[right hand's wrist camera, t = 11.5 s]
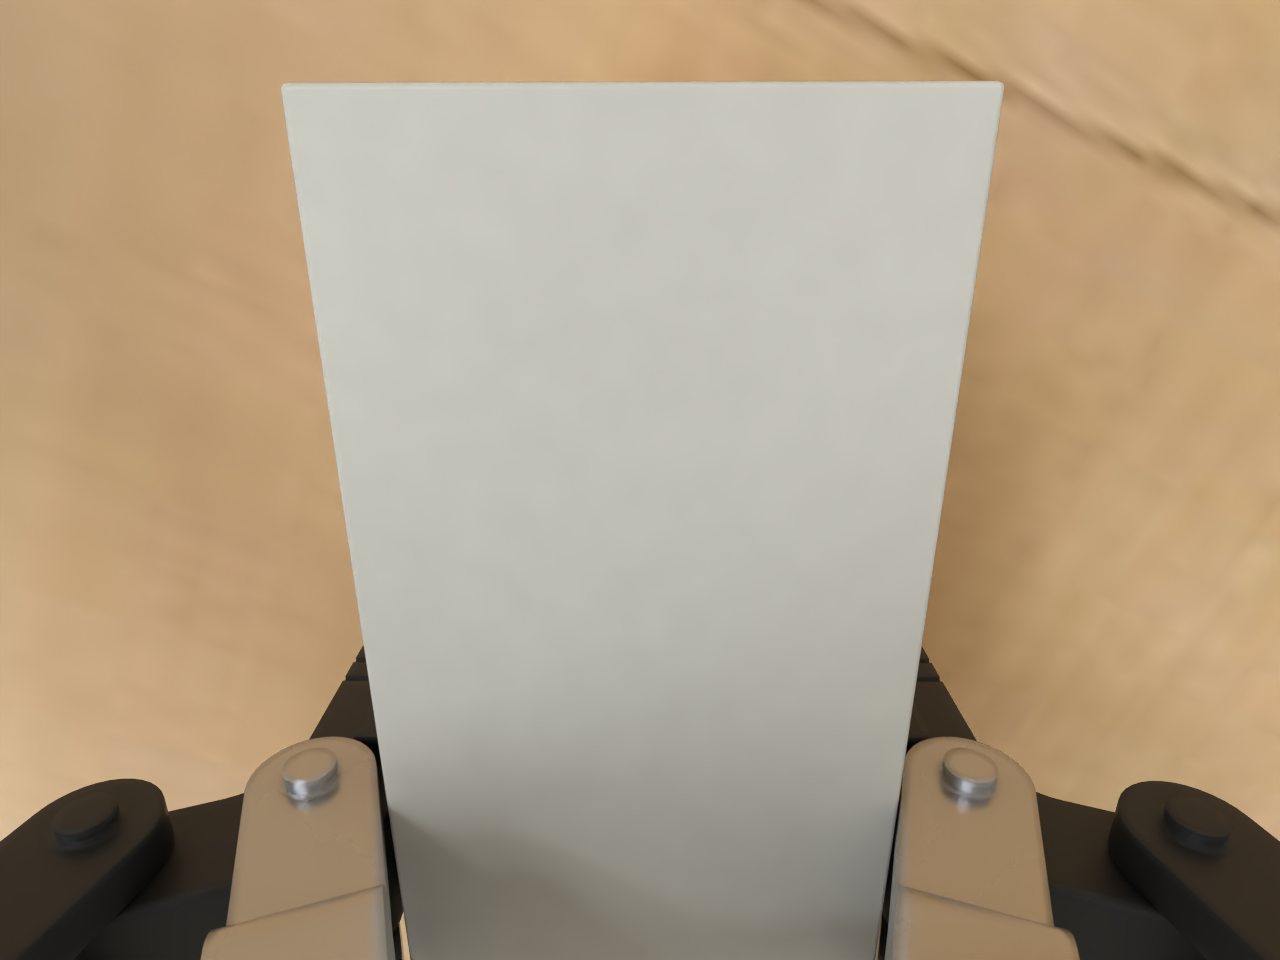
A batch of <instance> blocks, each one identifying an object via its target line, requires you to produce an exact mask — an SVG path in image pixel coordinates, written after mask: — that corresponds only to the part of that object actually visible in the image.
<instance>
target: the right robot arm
mask: <svg viewBox="0 0 1280 960" xmlns="http://www.w3.org/2000/svg"><path fill="white" fill-rule="evenodd" d="M939 678H940V677H939V675H938V674H937V672H936V670H935V668H934V667H933V665H932V663H929V658H928V656H927V655H926V653H925V651H924V649H923V648H922V646H921V653H920V660H919V667H918V673H917V680H916V687H915V694H914V700H913V707H912V714H911V721H910V727H909V734H908V741H907V748H906V754H905V761H904V768H903V775H902V781H901V788H900V795H899V802H898V808H897V815H896V822H895V829H894V835H893V842H892V849H891V856H890V862H889V869H888V876H887V883H886V889H885V896H884V903H883V910H882V916H881V923H880V930H879V937H878V944H877V954H876V960H1280V841H1278V840H1277V839H1276V838H1275V837H1273V836H1272V835H1271V834H1269V833H1268V832H1267V831H1266V830H1264V829H1263V828H1262V827H1261V826H1259V825H1258V824H1257V823H1256V822H1254V821H1253V820H1252V819H1250V818H1249V817H1248V816H1247V815H1245V814H1244V813H1242V812H1241V811H1240V810H1238V809H1237V808H1235V807H1234V806H1232V805H1230V804H1229V803H1227V802H1225V801H1223V800H1221V799H1219V798H1217V797H1215V796H1213V795H1211V794H1209V793H1206V792H1204V791H1201V790H1199V789H1195V788H1192V787H1189V786H1186V785H1181V784H1177V783H1171V782H1163V781H1147V782H1140V783H1137V784H1134V785H1131V786H1130V787H1128V788H1126V789H1125V790H1124V791H1123V792H1122V793H1121V795H1120V798H1119V800H1118V804H1117V807H1116V811H1115V812H1110V811H1106V810H1102V809H1097V808H1093V807H1088V806H1084V805H1080V804H1075V803H1071V802H1067V801H1062V800H1059V799H1055V798H1051V797H1048V796H1045V795H1043V794H1040V793H1037V792H1036V791H1035V788H1034V784H1033V782H1032V780H1031V779H1030V777H1029V775H1028V774H1027V773H1026V772H1025V770H1024V769H1023V768H1022V767H1021V766H1020V765H1019V764H1018V763H1017V762H1015V761H1014V760H1013V759H1011V758H1010V757H1009V756H1007V755H1006V754H1004V753H1002V752H1001V751H999V750H997V749H995V748H993V747H991V746H988V745H986V744H983V743H980V742H977V741H976V739H975V737H974V736H973V734H972V732H971V730H970V729H969V727H968V725H967V723H966V722H965V720H964V718H963V717H962V715H961V713H960V711H959V710H958V708H957V706H956V705H955V703H954V701H953V699H952V698H951V696H950V694H949V692H948V691H947V689H946V687H945V686H944V684H943V682H940V679H939ZM402 914H403V905H402V898H401V892H400V885H399V878H398V872H397V865H396V858H395V851H394V845H393V838H392V831H391V825H390V818H389V811H388V805H387V798H386V791H385V784H384V778H383V771H382V764H381V758H380V751H379V744H378V737H377V731H376V724H375V717H374V711H373V704H372V697H371V691H370V684H369V677H368V670H367V664H366V657H365V650H364V645H363V647H362V649H361V650H360V652H359V654H358V656H357V657H356V662H353V664H352V666H351V668H350V669H349V671H348V673H347V675H346V680H345V681H343V682H342V683H341V685H340V687H339V689H338V690H337V692H336V694H335V696H334V697H333V699H332V701H331V703H330V704H329V706H328V708H327V710H326V711H325V713H324V715H323V717H322V718H321V720H320V722H319V724H318V725H317V727H316V729H315V731H314V732H313V734H312V736H311V737H310V739H309V740H307V741H303V742H300V743H297V744H294V745H292V746H290V747H287V748H285V749H283V750H281V751H279V752H278V753H276V754H275V755H273V756H271V757H270V758H269V759H267V760H266V761H265V762H263V763H262V764H261V765H260V766H259V767H258V768H257V769H256V770H255V772H254V773H253V774H252V776H251V777H250V779H249V781H248V783H247V785H246V788H245V792H244V793H243V794H240V795H237V796H233V797H230V798H226V799H222V800H218V801H213V802H209V803H205V804H200V805H196V806H191V807H187V808H183V809H178V810H174V811H170V812H168V810H167V806H166V802H165V799H164V796H163V793H162V791H161V790H160V789H159V788H158V787H157V786H156V785H154V784H152V783H150V782H147V781H144V780H138V779H117V780H109V781H104V782H100V783H96V784H93V785H89V786H86V787H83V788H81V789H78V790H76V791H73V792H71V793H69V794H67V795H65V796H63V797H61V798H59V799H57V800H55V801H54V802H52V803H50V804H49V805H47V806H46V807H44V808H43V809H41V810H40V811H39V812H37V813H36V814H35V815H33V816H32V817H31V818H30V819H28V820H27V821H26V822H25V823H23V824H22V825H21V826H19V827H18V828H17V829H16V830H14V831H13V832H12V833H11V834H9V835H8V836H7V837H6V838H4V839H3V840H2V841H0V960H404V953H403V942H402V934H401V927H400V920H401V917H402Z"/></svg>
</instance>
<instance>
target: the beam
mask: <svg viewBox="0 0 1280 960" xmlns="http://www.w3.org/2000/svg"><path fill="white" fill-rule="evenodd" d="M1003 93H1004V85H1003V83H1001V82H999V81H671V82H287V83H285V84H283V85H282V87H281V94H282V100H283V107H284V114H285V120H286V127H287V134H288V140H289V147H290V154H291V161H292V167H293V174H294V181H295V187H296V194H297V201H298V208H299V214H300V221H301V228H302V234H303V241H304V248H305V254H306V261H307V268H308V275H309V281H310V288H311V295H312V301H313V308H314V315H315V322H316V328H317V335H318V342H319V348H320V355H321V362H322V369H323V375H324V382H325V389H326V395H327V402H328V409H329V415H330V422H331V429H332V436H333V442H334V449H335V456H336V462H337V469H338V476H339V483H340V489H341V496H342V503H343V509H344V516H345V523H346V530H347V536H348V543H349V550H350V556H351V563H352V570H353V576H354V583H355V590H356V597H357V603H358V610H359V617H360V623H361V630H362V637H363V644H364V650H365V657H366V664H367V670H368V677H369V684H370V691H371V697H372V704H373V711H374V717H375V724H376V731H377V737H378V744H379V751H380V758H381V764H382V771H383V778H384V784H385V791H386V798H387V805H388V811H389V818H390V825H391V831H392V838H393V845H394V851H395V858H396V865H397V872H398V878H399V885H400V892H401V898H402V905H403V912H404V919H405V925H406V932H407V939H408V945H409V952H410V959H411V960H875V957H876V950H877V943H878V937H879V930H880V923H881V916H882V910H883V903H884V896H885V889H886V883H887V876H888V869H889V862H890V856H891V849H892V842H893V835H894V829H895V822H896V815H897V808H898V802H899V795H900V788H901V781H902V775H903V768H904V761H905V754H906V748H907V741H908V734H909V727H910V721H911V714H912V707H913V700H914V694H915V687H916V680H917V673H918V667H919V660H920V653H921V646H922V640H923V633H924V626H925V619H926V613H927V606H928V599H929V592H930V586H931V579H932V572H933V565H934V559H935V552H936V545H937V538H938V532H939V525H940V518H941V511H942V505H943V498H944V491H945V484H946V478H947V471H948V464H949V457H950V451H951V444H952V437H953V430H954V424H955V417H956V410H957V403H958V397H959V390H960V383H961V376H962V370H963V363H964V356H965V349H966V343H967V336H968V329H969V322H970V316H971V309H972V302H973V295H974V289H975V282H976V275H977V268H978V262H979V255H980V248H981V241H982V235H983V228H984V221H985V214H986V208H987V201H988V194H989V187H990V181H991V174H992V167H993V160H994V154H995V147H996V140H997V133H998V127H999V120H1000V113H1001V106H1002V100H1003Z"/></svg>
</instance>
